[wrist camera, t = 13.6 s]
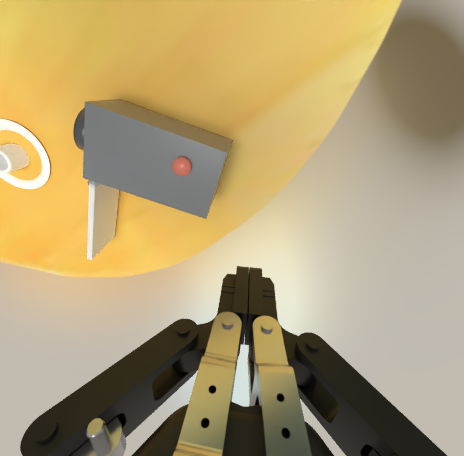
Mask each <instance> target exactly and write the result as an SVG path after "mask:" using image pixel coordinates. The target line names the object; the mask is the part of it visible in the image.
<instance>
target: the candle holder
mask: <svg viewBox="0 0 464 456" xmlns="http://www.w3.org/2000/svg"><path fill="white" fill-rule="evenodd" d="M1 130H10V131H14V132H17V133H19V134H21V135H22V136H24V137H25V138H27V139H28V140H29V141H30V142H31V143H32V144H33V145H34V147H35V148H36V149H37V151H38V153H39V155H40V157H41V161H42V171H41V174H40V175H39V176H38V177H37V178H36V179H34V180H30V181H26V180H20V179H18V178H15V177H13V176H11V175H10V174H8V173H10V172H13V171H16V170H19V169H22V168H24V167H27V166H28V165H29V163H30V158H29V155H28V153H27V152H26V150H25V149H24V148H22V147H21V146H20V145H17V144H6V145H1V146H0V177H1V178H2V179H4V180H5V181H7V182H8V183H10V184H12V185H14V186H17V187H20V188H24V189H35V188H39V187H41V186H43V185H44V184H45V183H46V182H47V180H48V178H49V175H50V162H49V159H48V156H47V153H46V151H45V149H44V148H43V146H42V145H41V143H40V142H39V141H38V139H37V138H36V137H35V136H34V135H33V134H32V133H31V132H29V131H28V130H27V129H26V128H24V127H23V126H21V125H19V124H17V123H15V122H13V121H10V120H6V119H0V131H1Z"/></svg>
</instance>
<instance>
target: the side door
mask: <svg viewBox="0 0 464 456" xmlns="http://www.w3.org/2000/svg"><path fill="white" fill-rule="evenodd" d="M88 184H89V212H88V247H87V259H90V260H92V259H93V258H94V257H95V256H96V255H97V254H98V253H99V252H100V251H101V250H102V249H103V248H104V247H105V246H106V245H107V244H108V243H109V242H110V241H111V240H112V239H113V238H114V236H115V230H116V220H117V209H118V199H119V190H118V189H115V188H112V187H109V186H106V185H103V184H100V183H97V182H94V181H91V180H89V181H88Z"/></svg>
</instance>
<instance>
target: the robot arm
mask: <svg viewBox="0 0 464 456" xmlns="http://www.w3.org/2000/svg"><path fill="white" fill-rule="evenodd" d="M244 336H245V345H249V354H248V375H249V394H250V404H249V407H243V406H240V405H238V404H235V403H233V402H232V394H233V387H234V380H235V372H236V366H237V359H238V356H239V353H240V345H241V344H243V343H244ZM197 370H198V373H197V376H196V380H195V383H194V387H193V390H192V394H191V398H190V401H189V404H188V405H185V406H183V407H181V408H179V409H178V410H176V411H175V412H174V413H173V414H171V415H170V416H169V417H168V418H167V419H166V420H165V421H164V422H163V423H162V425H161V426H160V427H159V428H158V429H157V430H156V431H155V432H154V433H153V434H152V435H151V436H150V437H149V438H148V439H147V440H146V441H145V442H144V443H143V444H142V445H141V446H140V448H139V449H138V450H137V451H136V452H135V453H134V454H133V455H132V456H334V455H333V454H332V452H331V451H330V450H329V448H328V447H327V446H326V444H325V443H324V441H323V440H322V439H321V437H320V436H319V435H318V433H317V432H316V431H315V430H314V429H313V428H312V427H311V426H310V425H309V424H308V423H307V422H305V421H304V416H303V412H302V407H301V402H300V399H301V400H302V401H303V402H304V404H305V405H306V406H307V407H308V408H309V410H310V411H311V412H312V414H313V415H314V416H315V417H316V418H317V420H318V421H319V422H320V424H321V425H322V426H323V427H324V429H325V430H326V431H327V432H328V434H329V435H330V436H331V437H332V439H333V440H334V441H335V442H336V444H337V445H338V446H339V447H340V448H341V450H342V451H343V452H344V453H345V455H346V456H447V455H446V454H445V453H444V452H443V451H442V450H440V449H439V448H438V447H437V446H436V445H435V444H434V443H433V442H432V441H431V440H430V439H429V438H428V437H427V436H426V435H424V434H423V433H422V432H421V431H420V430H419V429H418V428H417V427H416V426H415V425H414V424H413V423H412V422H411V421H409V420H408V419H407V418H406V417H405V416H404V415H403V414H402V413H401V412H400V411H399V410H398V409H397V408H396V407H395V406H393V405H392V404H391V403H390V402H389V401H388V400H387V399H386V398H385V397H384V396H383V395H382V394H381V393H379V392H378V391H377V390H376V389H375V388H374V387H373V386H372V385H371V384H370V383H369V382H368V381H367V380H366V379H365V378H364V377H362V376H361V375H360V374H359V373H358V372H357V371H356V370H355V369H354V368H353V367H352V366H351V365H349V364H348V363H347V362H346V361H345V360H344V359H343V358H342V357H341V356H340V355H339V354H338V353H337V352H336V351H335V350H334V349H333V348H331V347H330V346H329V345H328V344H327V343H326V342H325V341H324V340H323V339H322V338H321V337H319V336H318V335H316V334H313V333H303V334H301V335H300V336H297V335H294V334H292V333H290V332H288V331H286V330H284V329H283V328H282V327H281V325H280V324H279V322H278V319H277V310H276V301H275V291H274V284H273V282H272V281H271V279H270V278H265V277H262V269H260V268H251V267H250V269H249V267H240V266H237V273H236V275H234V274H227V275H226V277H225V278H224V279H223V284H222V290H221V296H220V302H219V308H218V313H217V315H216V317H215V318H214V319H213V320H212V321H210V322H208V323H205V324H200V325H197V324H196V323H195V322H194V321H192V320H190V319H180V320H177V321H176V322H174V323H173V324H171V325H170V326H168V327H167V328H165V329H164V330H163V331H161V332H160V333H158V334H157V335H155V336H154V337H152V338H151V339H150V340H148V341H147V342H145V343H144V344H142V345H141V346H140V347H138V348H137V349H135V350H134V351H132V352H131V353H130V354H128V355H127V356H125V357H124V358H122V359H121V360H119V361H118V362H117V363H115V364H114V365H112V366H111V367H109V368H108V369H107V370H105V371H104V372H102V373H101V374H100V375H98V376H96V377H95V378H94V379H92V380H91V381H89V382H88V383H87V384H85V385H84V386H82V387H81V388H79V389H78V390H76V391H75V392H74V393H72V394H71V395H70V396H68V397H66V398H65V399H63V400H62V401H61V402H59V403H58V404H56V405H55V406H53V407H52V408H51V409H49V410H48V411H46V412H45V413H44V414H42V415H41V416H39V417H38V418H37V419H36V420H35V421H34V422H33V423H32V424H31V425H30V426H29V427H28V429H27V430H26V432H25V434H24V436H23V438H22V441H21V447H20V449H21V453H22V455H23V456H123V454H124V451H125V448H126V439H125V438H126V437H127V436H128V435H129V434H130V433H131V432H132V431H133V430H135V429H136V428H137V427H138V426H139V425H140V424H141V423H142V422H143V421H144V420H145V419H147V417H149V416H150V415H151V414H152V413H153V412H154V411H155V410H156V409H157V408H158V407H159V406H161V405H162V404H163V403H164V402H165V401H166V400H167V399H168V398H169V397H170V396H171V395H172V394H174V393H175V392H176V391H177V390H178V389H179V388H180V387H181V386H182V385H183V384H184V383H185V382H186V381H188V380H189V378H191V377H192V376H193V375H194V374H195V373H196V371H197Z"/></svg>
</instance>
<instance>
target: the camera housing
mask: <svg viewBox="0 0 464 456" xmlns="http://www.w3.org/2000/svg"><path fill="white" fill-rule="evenodd" d="M73 133H74V140H75V143H76V145H77V147H78V148H79V149H81V150H84V162H83V178H85V179H88V180H91V181H94V182H97V183H100V184H103V185H106V186H109V187H112V188H115V189H118V190H121V191H124V192H127V193H130V194H133V195H136V196H139V197H142V198H145V199H148V200H151V201H154V202H157V203H160V204H163V205H166V206H169V207H172V208H175V209H178V210H181V211H184V212H187V213H190V214H193V215H196V216H199V217H202V218H205V219H206V218H207V215H208V212H209V210H210V207H211V205H212V202H213V199H214V197H215V194H216V191H217V187H218V184H219V181H220V178H221V175H222V172H223V169H224V166H225V163H226V159H227V156H228V153H229V150H230V147H231V144H232V141H233V140H230V139H227V138H225V137H222V136H219V135H216V134H214V133H211V132H208V131H205V130H203V129H200V128H197V127H194V126H192V125H189V124H186V123H184V122H181V121H178V120H175V119H173V118H170V117H167V116H164V115H162V114H159V113H156V112H153V111H151V110H148V109H145V108H142V107H140V106H137V105H134V104H131V103H129V102H126V101H123V100H104V101H88V102H85V108H84V109H82V110H81V111H80V113H79V114H78V116H77V118H76V120H75V124H74V132H73Z"/></svg>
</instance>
